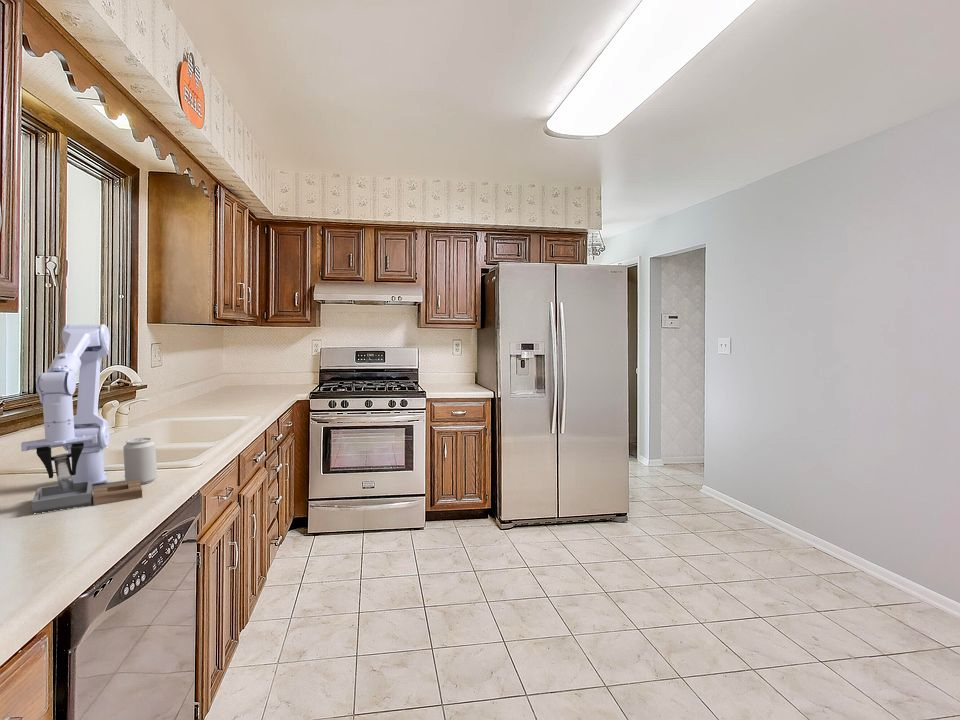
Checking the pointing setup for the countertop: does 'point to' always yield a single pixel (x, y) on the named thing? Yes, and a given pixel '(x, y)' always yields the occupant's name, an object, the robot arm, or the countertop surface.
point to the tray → (62, 497)
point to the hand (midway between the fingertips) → (62, 475)
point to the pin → (63, 471)
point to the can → (140, 460)
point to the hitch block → (117, 492)
